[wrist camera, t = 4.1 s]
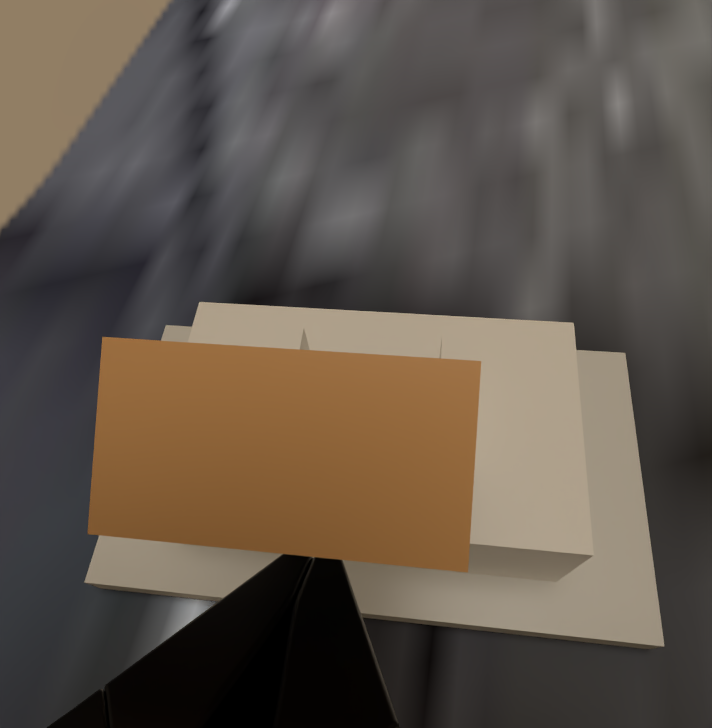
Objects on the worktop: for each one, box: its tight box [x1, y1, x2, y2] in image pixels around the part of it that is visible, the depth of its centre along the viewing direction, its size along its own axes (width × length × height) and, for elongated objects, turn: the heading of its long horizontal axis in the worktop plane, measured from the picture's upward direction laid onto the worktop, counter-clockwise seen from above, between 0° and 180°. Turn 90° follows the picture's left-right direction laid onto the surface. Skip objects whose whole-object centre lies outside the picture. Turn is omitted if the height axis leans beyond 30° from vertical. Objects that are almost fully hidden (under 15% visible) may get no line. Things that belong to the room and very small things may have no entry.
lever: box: [88, 337, 481, 573], centre depth 11 cm, size 2×4×10 cm, turn 84°
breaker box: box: [84, 302, 664, 649], centre depth 18 cm, size 10×18×7 cm, turn 84°
